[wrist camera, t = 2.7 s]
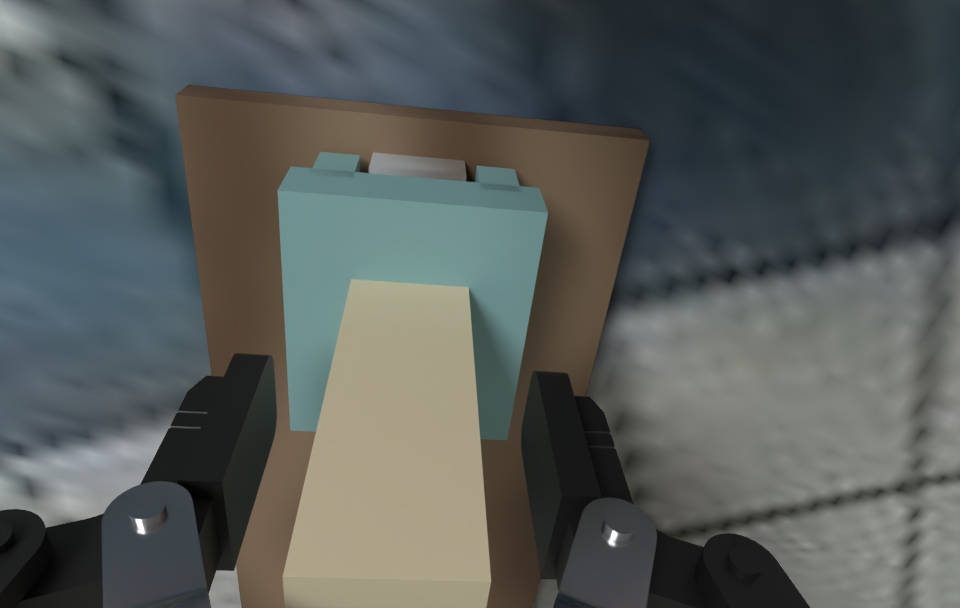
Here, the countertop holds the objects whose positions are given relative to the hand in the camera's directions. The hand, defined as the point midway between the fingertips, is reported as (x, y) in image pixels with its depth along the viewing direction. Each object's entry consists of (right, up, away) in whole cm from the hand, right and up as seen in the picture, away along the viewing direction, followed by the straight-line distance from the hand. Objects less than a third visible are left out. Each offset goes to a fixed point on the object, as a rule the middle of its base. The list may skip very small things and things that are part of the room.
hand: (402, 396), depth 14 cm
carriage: (0, +2, +5) cm, 5 cm away
